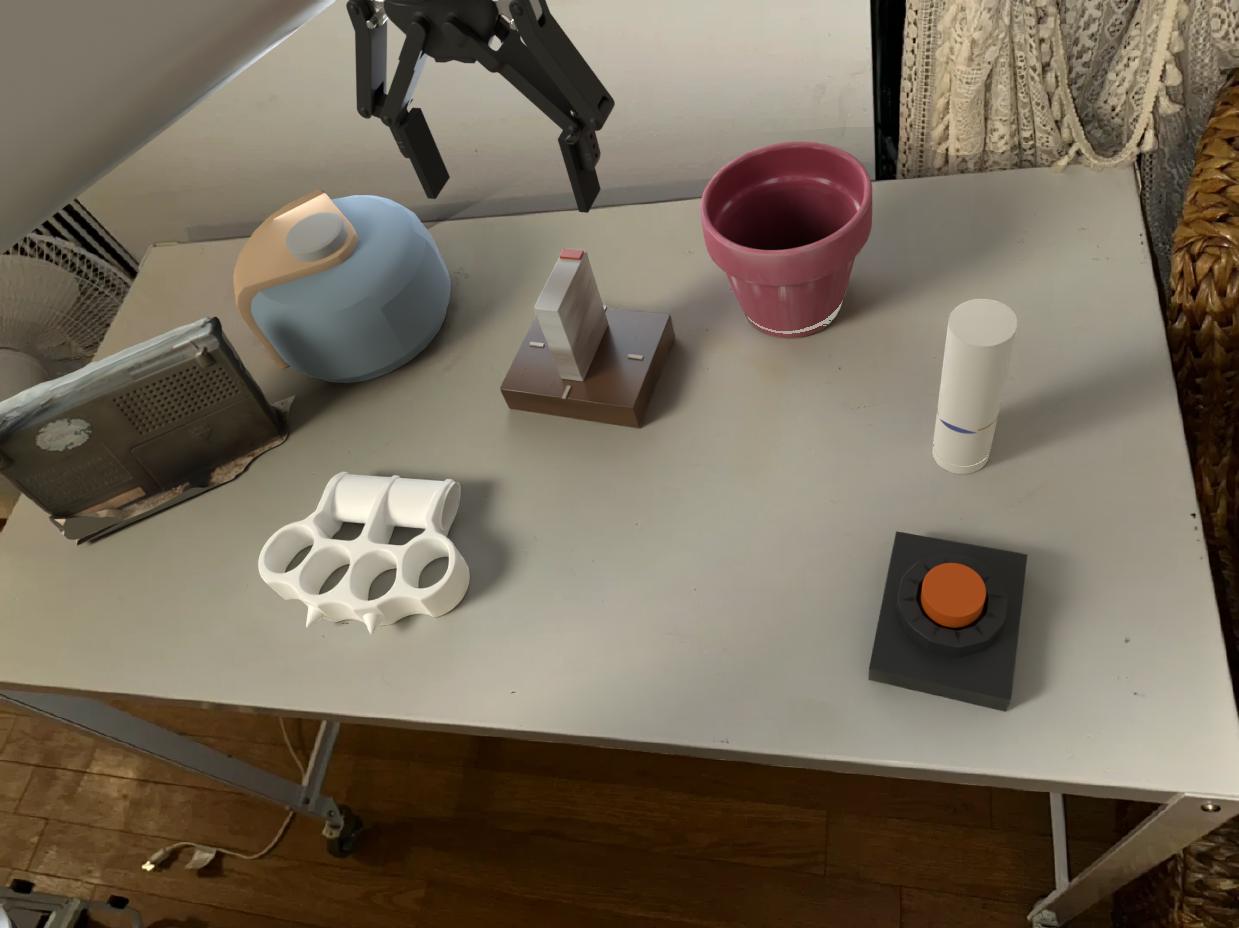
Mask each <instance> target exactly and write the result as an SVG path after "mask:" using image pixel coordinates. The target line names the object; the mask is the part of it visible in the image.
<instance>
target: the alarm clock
mask: <svg viewBox="0 0 1239 928" xmlns="http://www.w3.org/2000/svg"><path fill="white" fill-rule="evenodd" d="M447 267H448V266H447V265H446V263H445V261H444V259H443V257H442V254H441V253H440V251H439V249H438V246H437V244H436V242H435V240H434V238H433V236H432V234H431V233H430V232H429V231H428V229H427V227H425V225H424V224H423V223H422V221H421V220H420V218H419V217H418V216H417V215H416V213H415V212H413V211H412V210H411V209H409V208H407V207H405V206H403V205H402V204H399V203H398V202H396V201H394V200H392V199H390V198H386V197H383V196H377V195H374V194H373V195H372V194H371V195H364V194H363V195H362V194H361V195H360V194H359V195H358V194H357V195H355V194H354V195H348V196H344V197H338V198H333V199H332V198H330V197H329V196H328V194H327V193H326V191H324V189H322V188H318V189H315V190H313V191H312V192H309V193H308V194H306V195H303V196H301V197H300V198H297V199H296V200H293V201H291V202H289V203H287V204H285V205H284V206H282V207H281V208H279V209H278V210H277V211H275V212H273V213H272V214H271V215H269V216H268V217H267V218H266V219H265V220H263V222H262V223H261V224H260V225H259V226H258V227H257V228H256V229H255V230H254V231H253V232H252V234H251V235H250V237H249V238H248V240H247V241H246V243H245V245H244V246H243V248H242V249H241V251H240V253H239V254H238V257H237V260H236V263H235V266H234V269H233V277H232V278H233V279H232V280H233V281H232V284H233V293H234V298H235V307H236V309H237V311H238V313H239V315H240V317H241V319H242V321H243V322H244V323H245V324H246V326H247V327H248V329H250V331H251V332H252V333H253V335H254V336H255V337H256V339H257V340H258V341H259V343H260V344H261V345H262V347H263V348H264V349H265V351H266V352H267V353H268V354H269V355H270V357H271V358H272V360H273V361H274V362H275V364H276V365H277V366H278V368H279V369H281V370H282V369H285V368H289V367H290V368H291V369H293V370H294V371H296V372H297V373H300V374H302V375H305V376H307V377H311V378H314V379H318V380H319V379H320V380H322V381H325V382H328V383H339V384H350V383H357V382H363V381H369V380H372V379H374V378H378V377H381V376H385V375H387V374H389V373H391V372H393V371H395V370H397V369H398V368H400V367H402V366H403V365H406V364H407V363H409V362H410V361H412V360H413V359H414V358H415V357H416V356H417V355H419V354H420V353H421V352H423V350H425V349H426V348H428V347H427V346H428V345H429V344H430V343H431V342H432V341H433V339H434V338H435V337H436V335H437V334H438V333H439V331H440V329H441V327H442V324H443V323H444V320H445V317H446V316H447V309H448V306H449V305H450V299H451V298H450V297H451V293H452V292H451V290H452V282H451V278H450V273H449V270H448V268H447Z"/></svg>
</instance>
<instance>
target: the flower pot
mask: <svg viewBox="0 0 1239 928" xmlns="http://www.w3.org/2000/svg"><path fill="white" fill-rule="evenodd" d="M699 207H700V221H701V228H702V235H703V241H704V244H705V248H706V251H707V253H708V255H709V257H710V258H711V260H712V261H713V263H714V264H715V265H716V266H717V267H718V268H719V269H720V270H722V272H724V273H725V275H726V278H727V280H728V283H729V284H730V286H731V289H732V291H733V293H734V295H735V297H736V299H737V301H738V303H739V305H740V307H741V309H742V311H743V313H744V312H745V313H744V315H745V314H746V315H747V316H748V317H749V318H750V319H751V320H752V321H754V322H755V323H757V324H759V325H760V326H763V327H765V328H768V329H772V330H776V331H793V330H794V331H795V330H800V329H804V328H806V327H810V326H813V325H815V324H817V323H819V322H821V321H823V320H825V319H826V318H828V316H830V315H831V314H832V313H833V312H834V311H835V310H836V309H837V308H838V307H839V305H840V304H841V302H842V300H843V301H844V299H845V296H846V291H847V288H848V285H849V282H850V278H851V275H852V270H853V268H854V264H855V261H856V257H857V256H858V254H859V253H860V252H861V251H862V249H864V246H865V245H866V244H867V242H868V240H869V237H870V235H871V231H872V225H873V184H872V179H871V176H870V174H869V171H868V170H867V168H866V167H865V166H864V165H863V163H862V162H861V161H860V160H859V159H857V158H856V157H855V156H854V155H852V154H851V153H849V152H848V151H846V150H844V149H842V148H839V147H837V146H833V145H830V144H826V143H821V142H815V141H787V142H786V141H785V142H778V143H772V144H768V145H765V146H760V147H758V148H755V149H753V150H750V151H747V152H745V153H743V154H741V155H739V156H737V157H736V158H734V159H733V160H730V161H729V162H728V163H727V164H725V165H724V166H723V167H722V168H720V169H719V170H718V171H717V172H716V173H715V174H714V175H713V177H712V178H711V179H710V180H709V181H708V183H707V185H706V187H705V189H704V190H703V193H702V196H701V199H700V206H699ZM844 295H845V296H844ZM843 298H844V299H843ZM746 315H745V317H746V319H747V321H748V322H749V324H751V326H753V327H754V328H755V329H756V330H758V331H759V332H761V333H763V334H765V335H768V336H771V337H774V338H775V337H776V338H780V339H797V338H804V337H807V336H810V335H813V334H816V333H819V332H820V331H822V330H824V329H825V328H827V327H828V326H829V325H828V324H823V325H827V326H826V327H825V326H823V325H822V326H819V327H817V328H815V329H812V330H809V331H805V332H800V333H792V334H783V333H775V332H771V331H768V330H765V329H762V328H760V327H758V326H757V325H755V324H754V323H753V322H751V321H750V320H749V319H748V317H747V316H746ZM829 321H831V320H829ZM832 322H834V320H832Z"/></svg>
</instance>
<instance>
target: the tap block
mask: <svg viewBox="0 0 1239 928" xmlns="http://www.w3.org/2000/svg"><path fill="white" fill-rule="evenodd" d="M603 307H604V310H605V314H606V317H607V320H608V326H607V328H606V331H605V333H604V335H603V337H602V340H601V342H600V344H599V347H598V349H597V351H596V353H595V356H594V358H593V360H592V362H591V365H590V367H589V369H588V372H587V374H586V376H585V378H584V381H576V380H569V379H562V378H561V377H560V374H559V372H558V369H557V367H556V364H555V361H554V359H553V356H552V354H551V351H550V349H549V346H548V344H547V341H546V338H545V336H544V333H543V331H542V328H541V326H540V323H539V321H538V318H537V315H536V314H535V317H534V319H533V320H532V322H531V325H530V327H529V328H528V331H527V333H526V334H525V336H524V338H523V341H522V343H521V345H520V346H519V349H518V350H517V353H516V355H515V356H514V359H513V360H512V363H511V365H510V367H509V369H508V371H507V373H506V375H505V377H504V379H503V381H502V383H501V385H500V387H499V390H500V392H501V395H502V397H503V398H504V401H505V403H506V405H507V407H508V409H509V410H515V411H521V412H522V411H523V412H529V413H536V414H542V415H549V416H554V417H555V416H556V417H562V418H568V419H574V420H580V421H581V420H582V421H587V422H594V423H602V424H607V425H615V426H620V427H627V428H634V429H640V428H641V426H642V423H643V421H644V418H645V415H646V413H647V411H648V408H649V405H650V402H651V399H652V397H653V395H654V392H655V389H656V387H657V385H658V382H659V379H660V377H661V374H662V372H663V369H664V367H665V364H666V362H667V359H668V356H669V353H670V351H671V348H672V346H673V342H674V340H675V338H676V334H675V329H674V325H673V320H672V316H671V314H669V313H660V312H650V311H649V312H648V311H640V310H632V309H622V308H613V307H608V305H606V304H603Z"/></svg>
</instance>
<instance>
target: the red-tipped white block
mask: <svg viewBox="0 0 1239 928" xmlns="http://www.w3.org/2000/svg"><path fill="white" fill-rule="evenodd" d="M558 256H559V257H558V259H557V260H556V263H555V265H554V267H553V268H552V270H551V273H550V275H549V276H548V279H547V281H546V283H545V284H544V286H543V289H542V291H541V292H540V294H539V296H538V299H537V301H536V303H535V304H534V307H533V310H534V313H535V316H536V315H537V318H538V321H539V323H540V326H541V328H542V331H543V333H544V336H545V338H546V341H547V344H548V346H549V349H550V351H551V354H552V356H553V359H554V361H555V364H556V367H557V369H558V372H559V374H560V377H561V378H562V379H569V380H576V381H584V378H585V376H586V374H587V372H588V369H589V367H590V365H591V362H592V360H593V358H594V356H595V353H596V351H597V349H598V347H599V344H600V342H601V340H602V337H603V335H604V333H605V331H606V328H607V326H608V320H607V317H606V314H605V310H604V307H603V305H604V304H603V302H602V301H603V300H602V298H601V294H600V290H599V287H598V284H597V281H596V277H595V273H594V271H593V268H592V264H591V261H590V258H589V254H588V251H587V250H584V249H577V248H564V247H563V248H562V250H561V252H560V253H559V255H558Z"/></svg>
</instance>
